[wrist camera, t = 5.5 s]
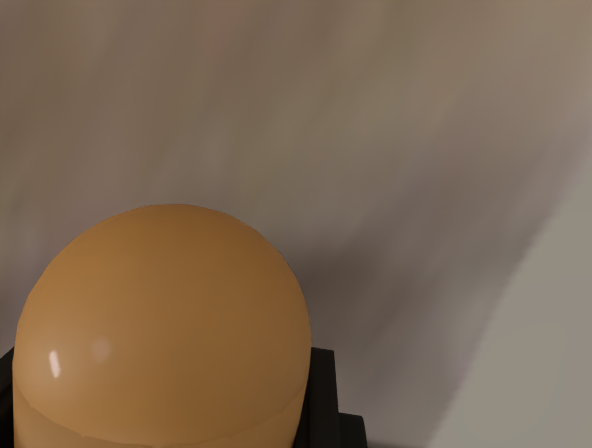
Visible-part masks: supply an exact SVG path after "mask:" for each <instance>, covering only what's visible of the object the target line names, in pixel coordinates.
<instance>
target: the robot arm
mask: <svg viewBox="0 0 592 448" xmlns="http://www.w3.org/2000/svg"><path fill="white" fill-rule="evenodd" d="M14 348H15V346H14V347H13V348H12V349H11V350H10V351H9V352H7V353H6V354H5V355H4V356H3V357H2V358H1V359H0V448H14V414H13V369H12V362H13V357H14ZM293 448H368V446H367V440H366V433H365V426H364V421H363V418H362V416H358V415H352V414H345V413H339V412H338V399H337V386H336V372H335V359H334V351H333V350H327V349H320V348H314V347H311V355H310V366H309V374H308V379H307V384H306V390H305V395H304V400H303V405H302V410H301V415H300V421H299V425H298V428H297V432H296V437H295V442H294V447H293Z"/></svg>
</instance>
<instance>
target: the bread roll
mask: <svg viewBox="0 0 592 448" xmlns="http://www.w3.org/2000/svg"><path fill="white" fill-rule="evenodd" d="M311 343H312V337H311V330H310V323H309V316H308V310H307V305H306V301H305V298H304V296H303V293H302V290H301V288H300V285H299V283H298V280H297V278H296V277H295V275H294V274H293V272H292V270H291V269H290V267H289V266H288V264H287V263H286V261H285V260H284V258H283V257H282V255H281V254H280V252H279V251H278V250H277V249H276V248H274V247H273V246H272V245H271V244H270V243H269V242H268V241H267V240H266V239H265V238H264V237H263V236H262V235H261V234H260V233H259V232H258V231H256V230H254V229H253V228H251V227H249V226H248V225H246V224H244V223H243V222H241V221H239V220H237V219H236V218H234V217H232V216H230V215H228V214H225V213H222V212H219V211H216V210H212V209H208V208H203V207H198V206H193V205H183V204H165V205H150V206H144V207H140V208H136V209H133V210H130V211H127V212H124V213H121V214H118V215H115V216H112V217H109V218H107V219H105V220H103V221H101V222H100V223H98V224H96V225H95V226H93V227H91V228H90V229H88V230H86V231H85V232H83V233H82V234H80V235H79V236H77V237H76V238H75V239H74V240H73V241H71V242H70V243H69V244H68V245H67V246H66V247H65V248H64V249H63V250H62V251H61V252H60V253H59V254H58V255H57V256H56V257H55V258H54V259H53V260H51V262H50V263H49V265H48V266H47V268H46V269H45V271H44V272H43V274H42V275H41V277H40V278H39V280H38V281H37V283H36V284H35V286H34V288H33V289H32V291H31V292H30V294H29V296H28V298H27V301H26V303H25V306H24V309H23V311H22V314H21V317H20V319H19V322H18V326H17V333H16V339H15V348H14V357H13V362H12V369H13V414H14V448H293V447H294V442H295V437H296V432H297V428H298V425H299V421H300V415H301V410H302V405H303V400H304V395H305V390H306V384H307V379H308V374H309V366H310V355H311Z"/></svg>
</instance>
